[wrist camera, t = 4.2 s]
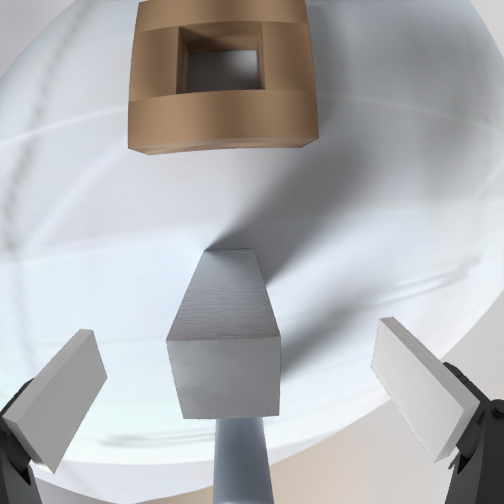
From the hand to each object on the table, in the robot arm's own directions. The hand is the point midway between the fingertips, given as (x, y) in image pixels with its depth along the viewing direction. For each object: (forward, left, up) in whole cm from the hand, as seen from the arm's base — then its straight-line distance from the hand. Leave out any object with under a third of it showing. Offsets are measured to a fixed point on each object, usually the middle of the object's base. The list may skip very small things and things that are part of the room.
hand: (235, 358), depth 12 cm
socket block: (0, +16, -12) cm, 20 cm away
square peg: (0, 0, -12) cm, 12 cm away
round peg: (0, -12, -12) cm, 17 cm away
